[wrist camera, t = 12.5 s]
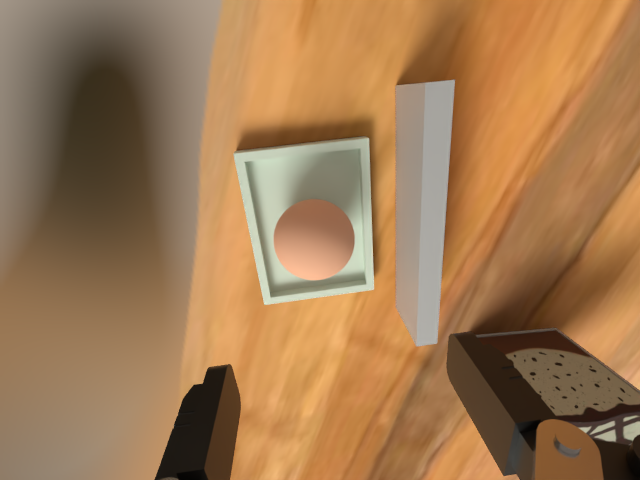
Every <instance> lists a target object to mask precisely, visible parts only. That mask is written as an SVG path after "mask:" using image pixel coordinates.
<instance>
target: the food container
mask: <svg viewBox="0 0 640 480" xmlns="http://www.w3.org/2000/svg"><path fill="white" fill-rule="evenodd" d="M476 336H477V338H478V339H479V340H480V341H481V343H482V344H483V345H486V344H491V345H492V346H494V347H495V348H497V349H498V350H500V351H501V352H503V353H504V354H505V355H506V356H507V358H508V359H509V360H510V361H511V362H512V364H513V365H514V367H515V368H517V370H518V371H519V372H520V373H521V374H522V376H523V378H525V379H526V380H527V382H528V383H529V384H530V385H531V386H532V388H533V389H534V390H535V391H536V392H537V394H538V395H539V396H540V397H541V398H542V400H543V401H544V402H545V403H546V404H547V406H548V407H549V408H550V409H551V410H552V412H553V413H554V414H555V415H556V416H557V417H558V418H559V420H562V421H565V422H568V423H570V424H572V425H574V426H576V427H578V428H579V429H581V430H582V431H584V432H585V433H586V434H587V435H588V436H589V437H590V438H592V439H596V440H601V441H607V442H614V443H620V444H626V445H631V444H632V442H633V440H634V438H635V437H636V436H637V435H639V434H640V390H638V389H637V388H636V387H634V386H633V385H632V384H630V383H629V382H628V381H626V380H625V379H624V378H622V377H621V376H620V375H618V374H617V373H616V372H614V371H613V370H612V369H610V368H609V367H608V366H606V365H605V364H604V363H602V362H601V361H600V360H598V359H597V358H596V357H594V356H593V355H592V354H590V353H589V352H588V351H586V350H585V349H584V348H582V347H581V346H580V345H578V344H577V343H576V342H574V341H573V340H572V339H570V338H569V337H568V336H566V335H565V334H564V333H562V332H561V331H560V330H558V329H557V328H547V329H536V330H525V331H514V332H503V333H492V334H481V335H476Z"/></svg>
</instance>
